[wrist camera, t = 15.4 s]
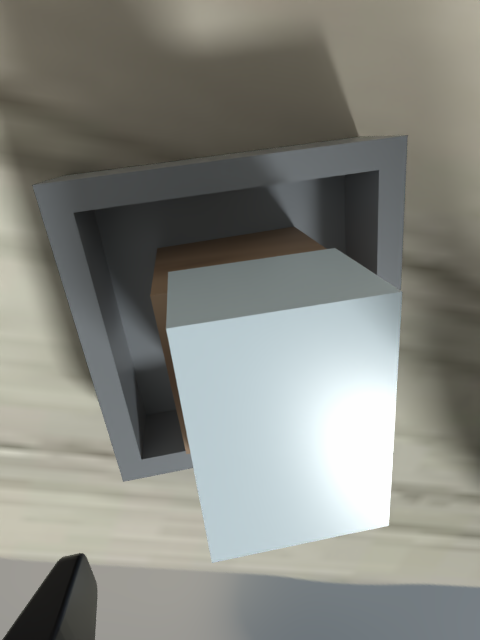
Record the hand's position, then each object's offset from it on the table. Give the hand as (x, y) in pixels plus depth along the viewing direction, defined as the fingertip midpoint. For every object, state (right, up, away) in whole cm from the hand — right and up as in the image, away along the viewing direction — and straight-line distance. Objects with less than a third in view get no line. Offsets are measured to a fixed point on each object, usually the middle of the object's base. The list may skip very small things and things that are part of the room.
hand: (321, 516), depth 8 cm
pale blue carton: (-1, +2, +6) cm, 6 cm away
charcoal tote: (-2, +5, +12) cm, 13 cm away
